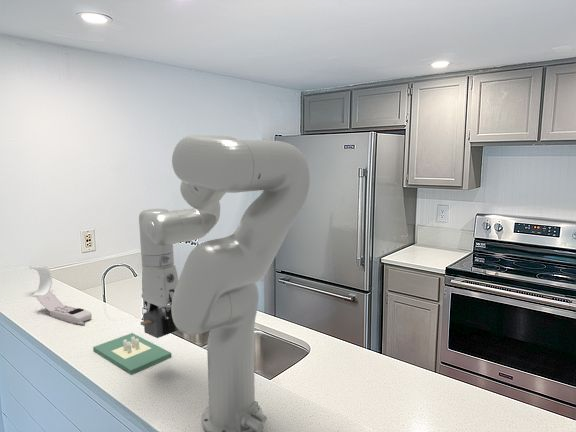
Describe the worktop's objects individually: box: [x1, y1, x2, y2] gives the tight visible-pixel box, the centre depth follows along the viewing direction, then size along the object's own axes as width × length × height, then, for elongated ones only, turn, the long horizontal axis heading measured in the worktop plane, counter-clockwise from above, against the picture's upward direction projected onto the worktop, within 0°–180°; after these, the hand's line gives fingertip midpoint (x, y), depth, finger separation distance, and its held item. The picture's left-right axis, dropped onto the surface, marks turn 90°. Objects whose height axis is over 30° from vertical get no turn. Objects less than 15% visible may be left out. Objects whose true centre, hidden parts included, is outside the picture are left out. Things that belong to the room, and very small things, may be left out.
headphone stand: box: [29, 265, 53, 298], centre depth 165 cm, size 5×6×12 cm
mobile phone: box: [35, 291, 92, 326], centre depth 144 cm, size 6×6×25 cm
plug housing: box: [140, 307, 180, 339], centre depth 105 cm, size 6×8×5 cm, turn 140°
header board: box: [92, 332, 172, 375], centre depth 117 cm, size 20×12×4 cm, turn 50°
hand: (162, 328), depth 106 cm, fingers closed on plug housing, 5 cm apart
